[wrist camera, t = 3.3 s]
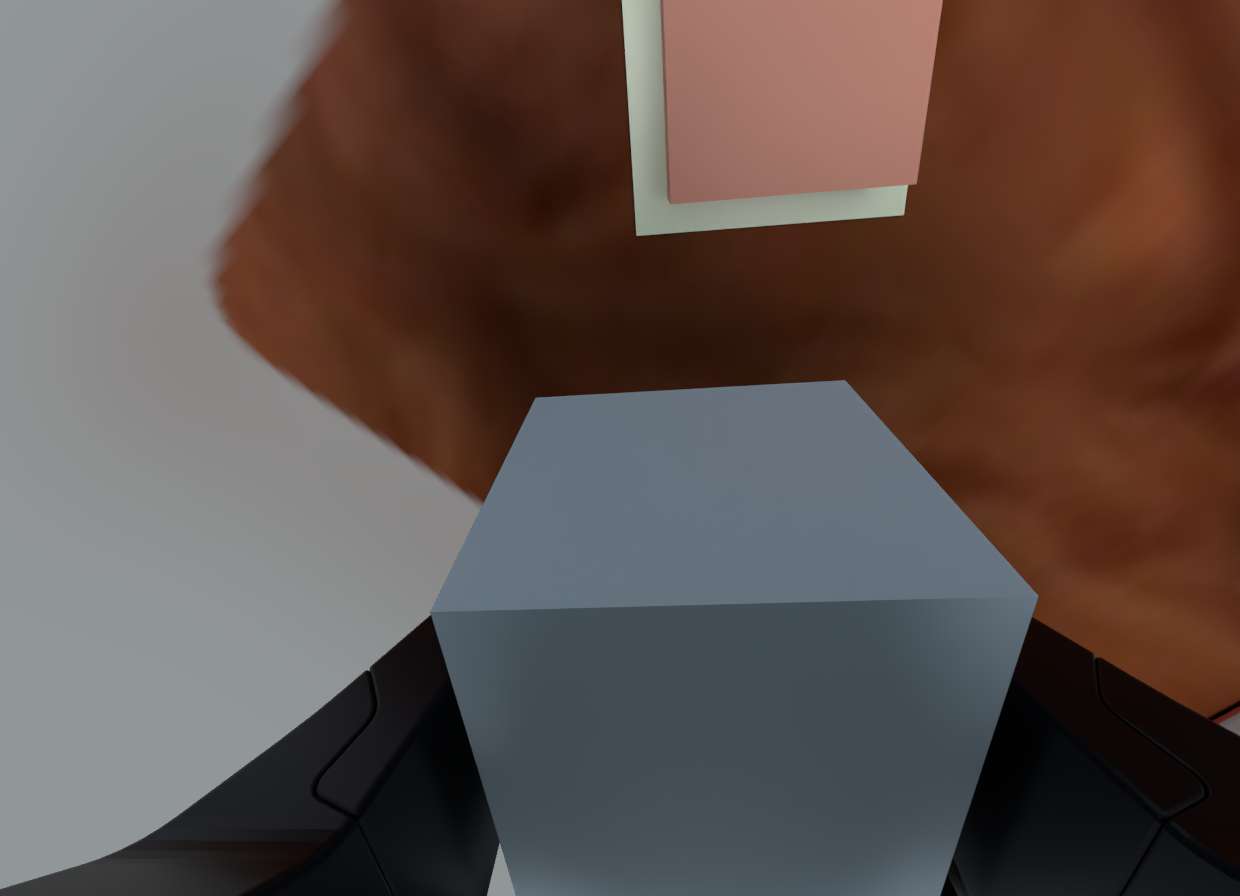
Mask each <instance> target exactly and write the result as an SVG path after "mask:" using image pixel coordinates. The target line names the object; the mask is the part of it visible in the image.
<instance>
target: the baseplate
mask: <svg viewBox="0 0 1240 896" xmlns="http://www.w3.org/2000/svg"><path fill="white" fill-rule="evenodd" d="M622 10H623V26H624V43H625V59H626V75H627V91H628V107H629V124H630V140H631V156H632V172H633V188H634V205H635V221H636V236H643V235H656V234H668V233H681V232H694V231H707V230H720V229H732V228H745V227H758V226H771V225H784V224H797V223H809V222H822V221H835V220H848V219H861V218H873V217H886V216H899V215H904V210H905V203H906V195H907V188H908V185H900V186H888V187H876V188H863V189H851V190H839V191H827V192H815V193H803V194H790V195H778V196H766V197H754V198H742V199H730V200H717V201H705V202H693V203H681V204H670V202H669V200H668V198H667V173H666V146H665V119H664V93H663V66H662V39H661V13H660V0H622Z"/></svg>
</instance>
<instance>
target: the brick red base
mask: <svg viewBox="0 0 1240 896" xmlns="http://www.w3.org/2000/svg"><path fill="white" fill-rule="evenodd" d="M942 2H943V0H660V13H661V39H662V66H663V93H664V119H665V146H666V173H667V198H668V200H669V202H670V204H681V203H693V202H705V201H717V200H730V199H742V198H754V197H766V196H778V195H790V194H803V193H815V192H827V191H839V190H851V189H863V188H876V187H888V186H900V185H912V184H917V178H918V171H919V164H920V157H921V150H922V143H923V136H924V128H925V121H926V114H927V107H928V100H929V93H930V86H931V79H932V72H933V65H934V58H935V51H936V44H937V37H938V30H939V23H940V16H941V9H942Z"/></svg>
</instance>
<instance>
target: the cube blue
mask: <svg viewBox="0 0 1240 896" xmlns="http://www.w3.org/2000/svg"><path fill="white" fill-rule="evenodd" d="M1037 599H1038V595H1037V594H1036V593H1035V592H1034V590H1033V589H1032V588H1031V587H1030V586H1029V585H1028V584H1027V583H1026V581H1025V580H1024V579H1023V578H1022V577H1021V576H1020V575H1019V574H1018V573H1017V571H1016V570H1015V569H1014V568H1013V567H1012V566H1011V565H1010V564H1009V563H1008V561H1007V560H1006V559H1005V558H1004V557H1003V556H1002V555H1001V554H1000V552H999V551H998V550H997V549H996V548H995V547H994V546H993V545H992V544H991V542H990V541H989V540H988V539H987V538H986V537H985V536H984V535H983V534H982V532H981V531H980V530H979V529H978V528H977V527H976V526H975V525H974V523H973V522H972V521H971V520H970V519H969V518H968V517H967V516H966V515H965V513H964V512H963V511H962V510H961V509H960V508H959V507H958V506H957V505H956V503H955V502H954V501H953V500H952V499H951V498H950V497H949V496H948V494H947V493H946V492H945V491H944V490H943V489H942V488H941V487H940V486H939V484H938V483H937V482H936V481H935V480H934V479H933V478H932V477H931V476H930V474H929V473H928V472H927V471H926V470H925V469H924V468H923V467H922V465H921V464H920V463H919V462H918V461H917V460H916V459H915V458H914V457H913V455H912V454H911V453H910V452H909V451H908V450H907V449H906V448H905V447H904V445H903V444H902V443H901V442H900V441H899V440H898V439H897V438H896V436H895V435H894V434H893V433H892V432H891V431H890V430H889V429H888V428H887V426H886V425H885V424H884V423H883V422H882V421H881V420H880V419H879V418H878V416H877V415H876V414H875V413H874V412H873V411H872V410H871V409H870V407H869V406H868V405H867V404H866V403H865V402H864V401H863V400H862V399H861V397H860V396H859V395H858V394H857V393H856V392H855V391H854V390H853V388H852V387H851V386H850V385H849V384H848V383H847V382H846V381H845V380H840V381H822V382H805V383H787V384H769V385H752V386H734V387H716V388H699V389H681V390H664V391H646V392H628V393H611V394H593V395H575V396H558V397H540V398H535V400H534V402H533V404H532V406H531V408H530V410H529V412H528V414H527V416H526V418H525V420H524V422H523V424H522V427H521V429H520V431H519V433H518V435H517V437H516V439H515V441H514V443H513V445H512V447H511V449H510V451H509V453H508V455H507V457H506V459H505V461H504V463H503V465H502V467H501V469H500V471H499V473H498V475H497V477H496V479H495V481H494V483H493V485H492V487H491V490H490V492H489V494H488V496H487V498H486V500H485V502H484V504H483V506H482V508H481V510H480V512H479V514H478V516H477V518H476V520H475V522H474V524H473V526H472V528H471V530H470V532H469V534H468V536H467V538H466V541H465V542H464V544H463V546H462V549H461V551H460V552H459V555H458V557H457V559H456V561H455V563H454V565H453V567H452V569H451V571H450V573H449V575H448V577H447V579H446V581H445V583H444V585H443V587H442V589H441V591H440V593H439V595H438V597H437V599H436V601H435V603H434V606H433V608H432V609H431V611H430V613H431V616H432V620H433V623H434V626H435V630H436V633H437V636H438V639H439V643H440V646H441V649H442V653H443V656H444V659H445V663H446V666H447V669H448V672H449V676H450V679H451V682H452V686H453V689H454V692H455V696H456V699H457V702H458V705H459V709H460V712H461V715H462V719H463V722H464V725H465V729H466V732H467V735H468V739H469V742H470V745H471V748H472V752H473V755H474V758H475V762H476V765H477V768H478V772H479V775H480V778H481V781H482V785H483V788H484V791H485V795H486V798H487V801H488V805H489V808H490V811H491V814H492V818H493V821H494V824H495V828H496V831H497V834H498V838H499V841H500V844H501V847H502V851H503V854H504V857H505V861H506V864H507V867H508V871H509V874H510V877H511V880H512V884H513V887H514V890H515V894H516V896H940V895H941V891H942V888H943V885H944V882H945V879H946V876H947V873H948V870H949V867H950V864H951V861H952V858H953V855H954V852H955V849H956V846H957V843H958V840H959V837H960V834H961V831H962V828H963V825H964V821H965V818H966V815H967V812H968V809H969V806H970V803H971V800H972V797H973V794H974V791H975V788H976V785H977V782H978V779H979V776H980V773H981V770H982V767H983V764H984V761H985V758H986V755H987V751H988V748H989V745H990V742H991V739H992V736H993V733H994V730H995V727H996V724H997V721H998V718H999V715H1000V712H1001V709H1002V706H1003V703H1004V700H1005V697H1006V694H1007V691H1008V688H1009V684H1010V681H1011V678H1012V675H1013V672H1014V669H1015V666H1016V663H1017V660H1018V657H1019V654H1020V651H1021V648H1022V645H1023V642H1024V639H1025V636H1026V633H1027V630H1028V627H1029V624H1030V621H1031V618H1032V614H1033V611H1034V608H1035V605H1036V602H1037Z"/></svg>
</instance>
